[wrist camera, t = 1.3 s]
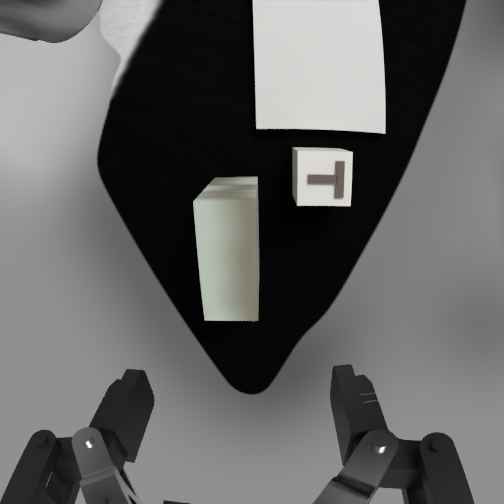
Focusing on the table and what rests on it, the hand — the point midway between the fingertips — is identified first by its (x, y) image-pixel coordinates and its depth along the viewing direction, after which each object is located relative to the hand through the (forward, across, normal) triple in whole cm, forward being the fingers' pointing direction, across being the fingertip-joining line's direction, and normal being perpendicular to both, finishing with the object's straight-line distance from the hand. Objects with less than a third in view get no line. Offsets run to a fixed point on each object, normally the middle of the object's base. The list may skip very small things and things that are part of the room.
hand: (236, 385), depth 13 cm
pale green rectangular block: (+20, +1, -1) cm, 20 cm away
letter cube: (+20, -6, -6) cm, 22 cm away
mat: (+20, -8, -19) cm, 28 cm away
